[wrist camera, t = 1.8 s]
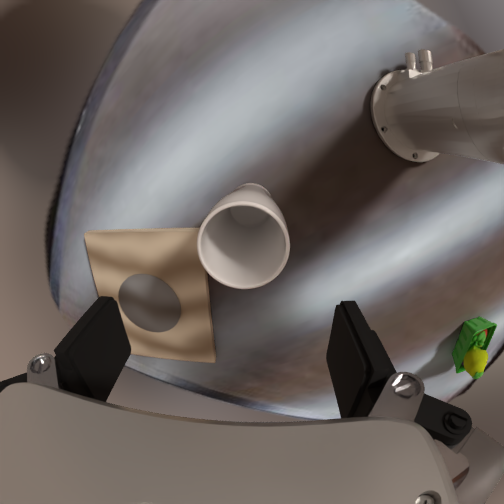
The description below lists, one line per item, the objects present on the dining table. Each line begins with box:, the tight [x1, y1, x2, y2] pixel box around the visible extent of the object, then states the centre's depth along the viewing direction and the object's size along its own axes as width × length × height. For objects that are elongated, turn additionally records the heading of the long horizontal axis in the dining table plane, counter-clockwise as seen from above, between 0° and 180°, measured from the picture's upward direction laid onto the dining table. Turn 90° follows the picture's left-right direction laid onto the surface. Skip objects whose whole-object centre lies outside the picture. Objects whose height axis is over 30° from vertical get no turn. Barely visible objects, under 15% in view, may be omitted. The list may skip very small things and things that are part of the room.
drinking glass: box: [197, 183, 290, 289], centre depth 26 cm, size 7×7×15 cm
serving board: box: [84, 228, 216, 363], centre depth 38 cm, size 22×18×2 cm
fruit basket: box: [452, 317, 497, 379], centre depth 35 cm, size 11×9×11 cm
